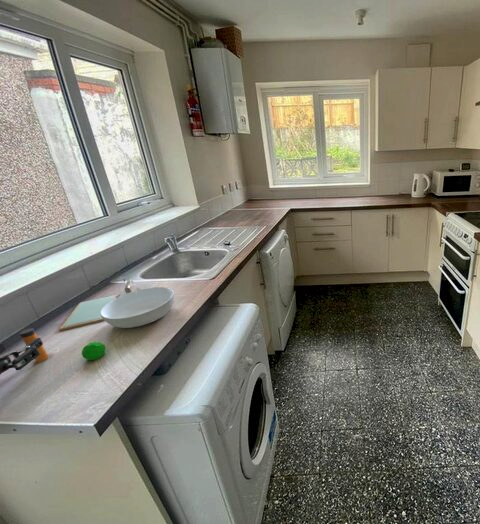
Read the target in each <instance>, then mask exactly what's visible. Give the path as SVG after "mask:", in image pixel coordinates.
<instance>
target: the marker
mask: <svg viewBox="0 0 480 524" xmlns="http://www.w3.org/2000/svg"><path fill="white" fill-rule="evenodd" d="M18 334H19V336H20V338H21V339H22V341H23V342H24V344H25V346H26V345H28V344H29V343H30V342H32V341H33V340H34V339H36V338H39V337H38V335H37V333H36V331H35V329H34V328H33V327H32V328H31V327H30V328H27V329H23V330H22V331H20V332H19V333H18ZM38 351H39V353H40V355H39V356H38V357H36V358H35V359H34V361H35V363H41V362H43V361H45V360H47V359H49V357H50V356H49V354H48V352H47V351H46V349H45V347H44V344H43V345H42V346H41V347H39V348H38Z"/></svg>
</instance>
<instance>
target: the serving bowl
mask: <svg viewBox="0 0 480 524" xmlns="http://www.w3.org/2000/svg"><path fill="white" fill-rule="evenodd" d="M174 304H175V292H174V290H173V289H172V288H170V287H167V286H151V287H145V288H141V289H137V291H133V292H130V293H127V294H126V293H124V294H122V295H120V296H118V297H117V298H116V299H114V300H112V301H110V302H109V303H107V304H106V305H105V306H104V307H103V308H102V309H101V312H100V315H101V317H102V318H103V319H104V320H103V321H104V322H105V323H106V324H108V325H110V326H112V327H115V328H120V329H131V328H137V327H142V326H145V325H149V324H150V323H153V322H155V321H158V320H159V319H161V318H162V317H164V316H165V315H166V314H168V313H169V312H170V311H171V309H172V308H173V306H174Z"/></svg>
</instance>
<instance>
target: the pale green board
mask: <svg viewBox="0 0 480 524" xmlns="http://www.w3.org/2000/svg"><path fill="white" fill-rule="evenodd" d="M118 297H119V294H114V295H109V296H104V297H99V298H94V299H90V300H86V301H81V302H79V303H78V305H77V306H76V307H75V308H74V309H73V311H72V312H71V313H70V314H69V316H68V317H67V318H66V320H65V321H64V322H63V324H62V325H61V326H60V328H59V331H65V330H70V329H73V328H77V327H82V326H86V325H90V324H94V323H99V322H103V321H105V320H104V319H103V318H102V317H101V315H100V312H101V309H102V308H103V307H104V306H105V305H106V304H107V303H109V302H110V301H112V300H114V299H116V298H118Z"/></svg>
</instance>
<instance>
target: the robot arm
mask: <svg viewBox="0 0 480 524" xmlns="http://www.w3.org/2000/svg"><path fill="white" fill-rule="evenodd" d="M42 345H43V346H44V342H43V341H42V339H41V337H38V338H36V339H34V340H33V341H32V342H30V343H29V344H28V345H26V344H25V346H24V347H21V348H19V349H17V350H15V349H12V350H10V351H8V352H5V351H6V346H5V345H4V343H2V342H1V343H0V375H1V374H4V373H5V372H7V371H8V370H10V369H15V371H20V370H22V369H24V368H25V367H26V366H27V365H29V364H30V363H31V362H33V361H35V358H36V357H38V356H39V355H40V353H39V351H38V348H39V347H41V346H42ZM3 352H5V353H3ZM10 356H13V360H11V358H10Z"/></svg>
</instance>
